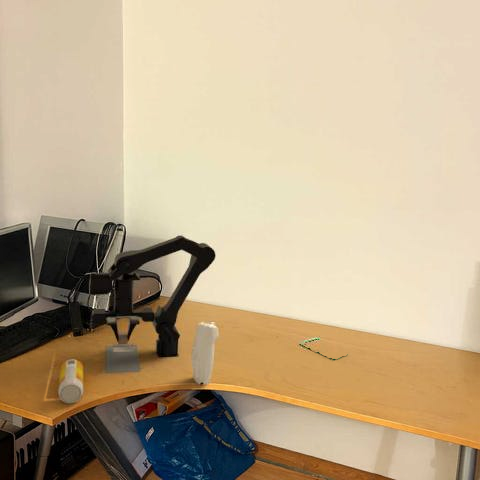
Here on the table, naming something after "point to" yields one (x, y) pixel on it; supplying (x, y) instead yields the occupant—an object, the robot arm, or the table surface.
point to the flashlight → (204, 351)
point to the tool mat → (122, 361)
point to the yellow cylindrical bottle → (71, 381)
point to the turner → (123, 343)
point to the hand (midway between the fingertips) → (122, 341)
